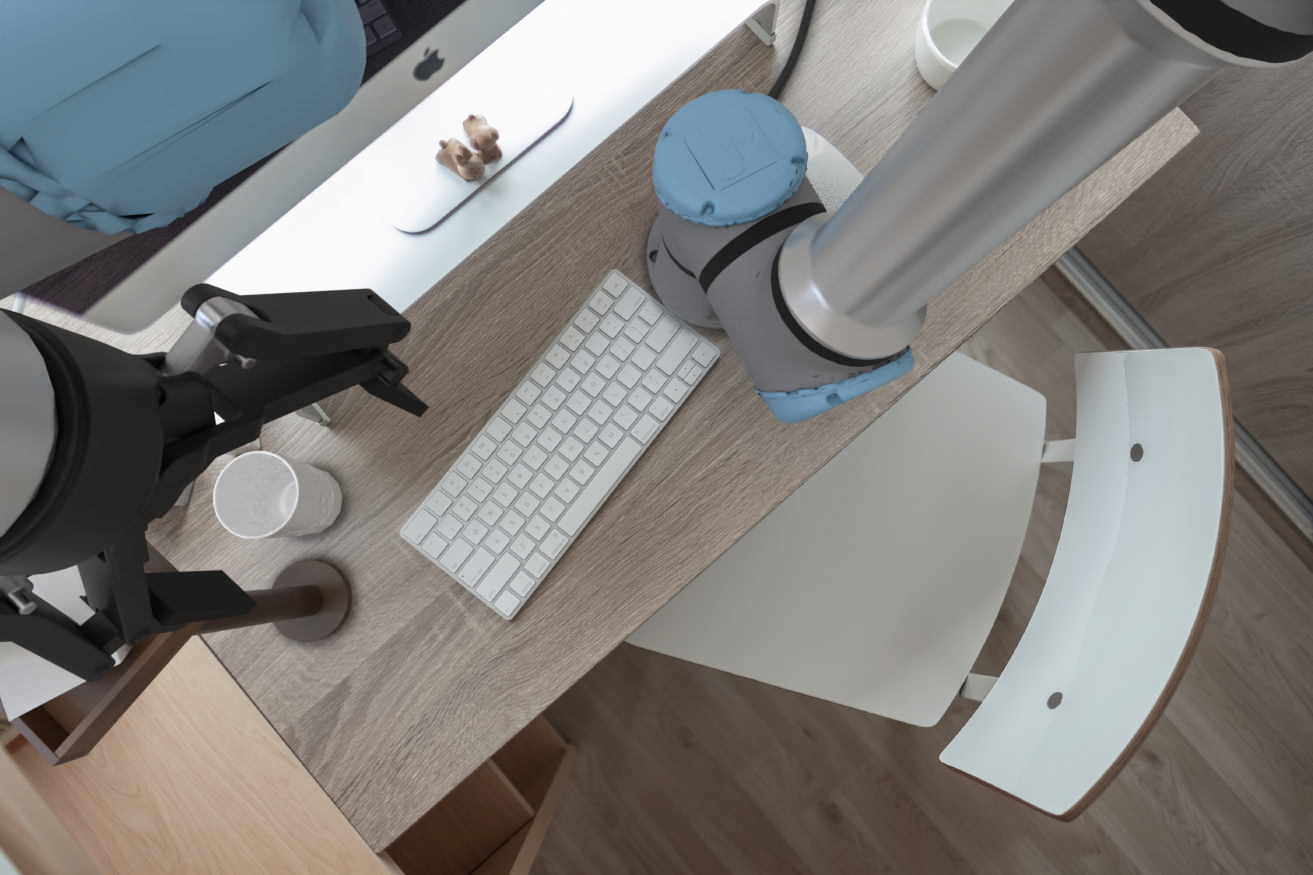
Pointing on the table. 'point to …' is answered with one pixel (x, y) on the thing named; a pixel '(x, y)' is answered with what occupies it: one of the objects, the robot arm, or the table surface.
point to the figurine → (27, 674)
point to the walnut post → (297, 603)
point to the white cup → (275, 497)
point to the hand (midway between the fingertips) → (322, 493)
